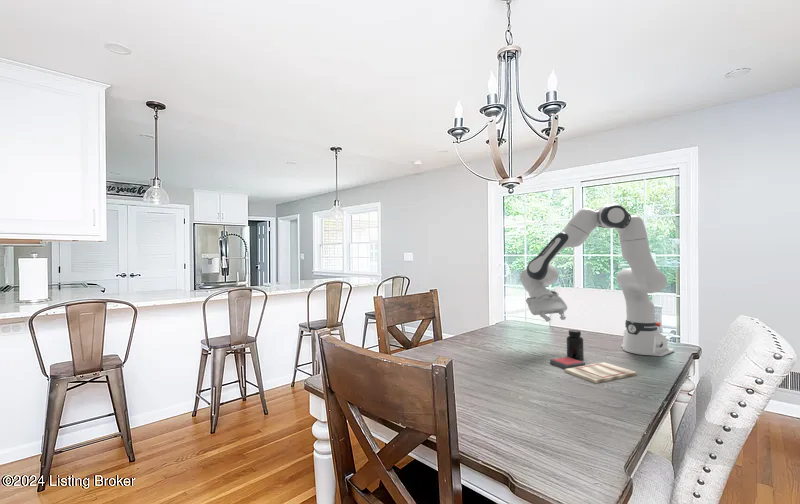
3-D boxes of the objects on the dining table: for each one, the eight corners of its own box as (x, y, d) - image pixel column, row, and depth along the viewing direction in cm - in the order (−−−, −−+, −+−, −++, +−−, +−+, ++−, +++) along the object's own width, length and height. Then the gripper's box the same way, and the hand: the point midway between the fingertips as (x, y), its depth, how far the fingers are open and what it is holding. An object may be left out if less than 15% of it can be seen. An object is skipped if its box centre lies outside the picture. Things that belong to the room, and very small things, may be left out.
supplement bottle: (580, 355, 167) (580, 329, 167) (586, 360, 160) (586, 332, 160) (564, 355, 168) (564, 329, 168) (569, 359, 161) (569, 332, 161)
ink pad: (567, 360, 160) (567, 356, 160) (585, 366, 152) (585, 362, 152) (550, 363, 156) (550, 359, 156) (567, 369, 148) (567, 365, 148)
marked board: (604, 364, 154) (604, 361, 154) (636, 374, 141) (636, 371, 141) (564, 371, 145) (564, 368, 145) (595, 383, 132) (595, 380, 132)
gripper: (527, 294, 176) (542, 317, 167) (559, 291, 184) (576, 314, 175) (521, 302, 181) (535, 325, 172) (553, 299, 188) (568, 322, 179)
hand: (556, 320), depth 174 cm, fingers open, 8 cm apart
